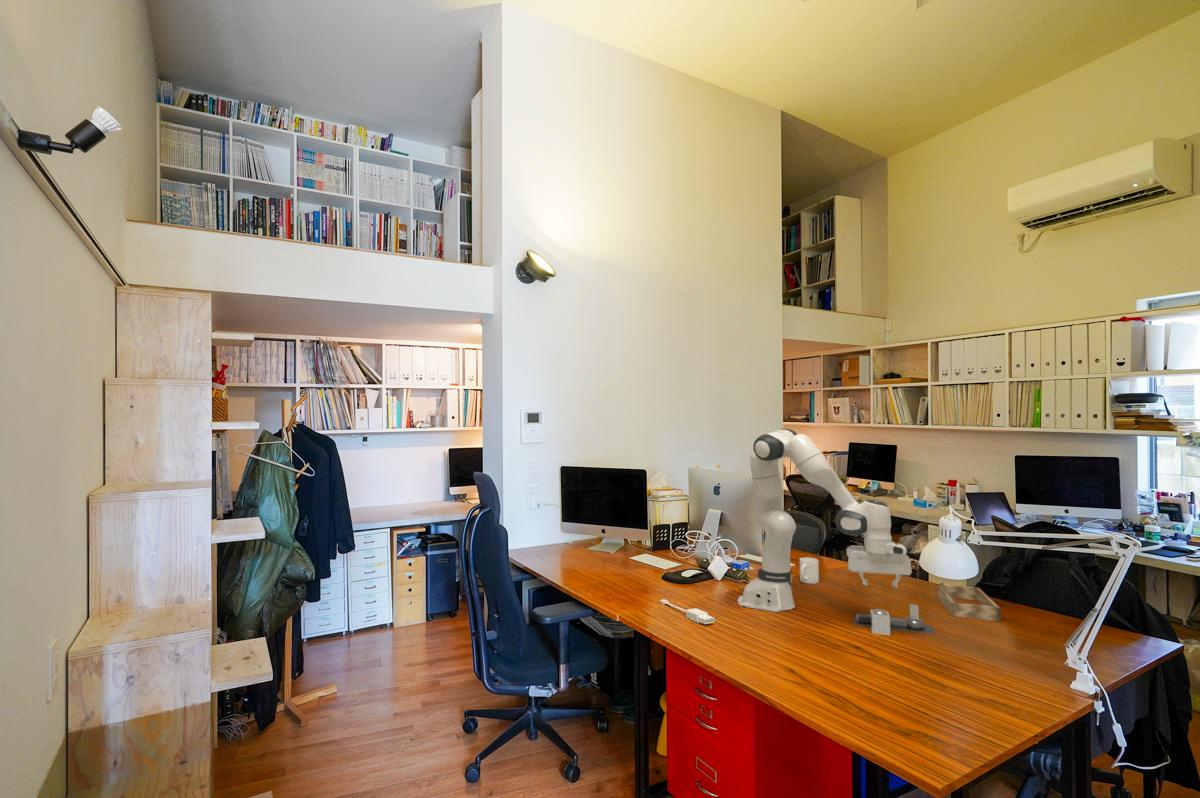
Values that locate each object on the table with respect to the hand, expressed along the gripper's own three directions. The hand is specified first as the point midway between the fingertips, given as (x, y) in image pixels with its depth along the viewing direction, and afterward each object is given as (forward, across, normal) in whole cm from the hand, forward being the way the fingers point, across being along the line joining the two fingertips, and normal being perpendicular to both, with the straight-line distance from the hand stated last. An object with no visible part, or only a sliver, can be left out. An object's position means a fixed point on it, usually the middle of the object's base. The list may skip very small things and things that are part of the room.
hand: (879, 585), depth 201 cm
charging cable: (+16, -70, -3) cm, 72 cm away
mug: (+17, -25, +60) cm, 67 cm away
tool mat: (+16, +4, +9) cm, 19 cm away
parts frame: (+17, +35, +42) cm, 58 cm away
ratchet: (+16, +4, +8) cm, 18 cm away
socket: (+16, 0, 0) cm, 16 cm away
